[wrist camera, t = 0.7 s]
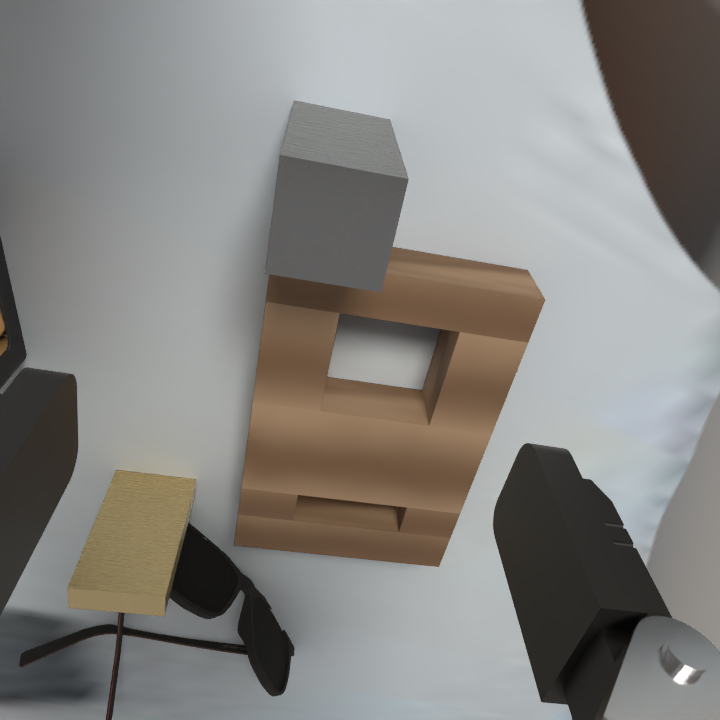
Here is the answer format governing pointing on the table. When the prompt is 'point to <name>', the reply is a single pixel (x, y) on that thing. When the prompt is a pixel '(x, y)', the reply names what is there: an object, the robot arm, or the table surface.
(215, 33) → the table surface
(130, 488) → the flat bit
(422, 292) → the bore block
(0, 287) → the ammunition clip
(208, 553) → the sunglasses
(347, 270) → the square bit
